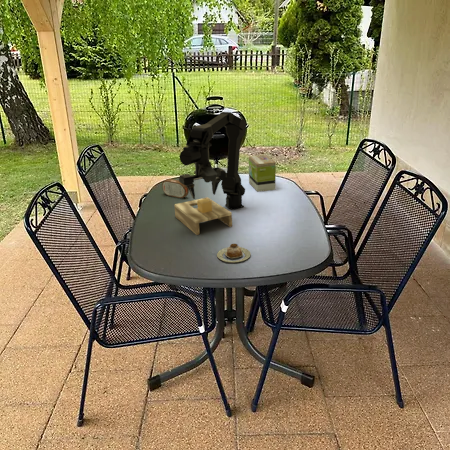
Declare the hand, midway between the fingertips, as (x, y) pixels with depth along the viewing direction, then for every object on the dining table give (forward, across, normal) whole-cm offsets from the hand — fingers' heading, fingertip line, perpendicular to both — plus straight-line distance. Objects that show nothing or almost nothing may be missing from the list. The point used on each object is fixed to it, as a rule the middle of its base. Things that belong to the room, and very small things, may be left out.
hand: (204, 196), depth 177 cm
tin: (+12, +2, +38) cm, 40 cm away
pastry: (+13, -4, -32) cm, 34 cm away
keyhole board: (+12, 0, +2) cm, 12 cm away
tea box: (+12, +46, +27) cm, 55 cm away
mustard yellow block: (+9, 0, 0) cm, 9 cm away
